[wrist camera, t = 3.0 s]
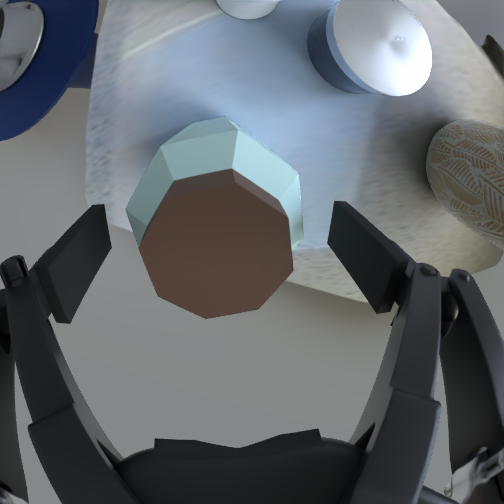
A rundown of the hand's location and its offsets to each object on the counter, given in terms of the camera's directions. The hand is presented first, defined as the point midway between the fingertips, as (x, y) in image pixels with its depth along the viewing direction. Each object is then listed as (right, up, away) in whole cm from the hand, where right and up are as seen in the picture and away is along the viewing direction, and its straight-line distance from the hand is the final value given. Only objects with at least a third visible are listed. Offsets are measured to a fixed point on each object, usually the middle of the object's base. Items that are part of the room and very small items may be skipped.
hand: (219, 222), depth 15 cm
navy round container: (+15, +25, +12) cm, 31 cm away
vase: (+36, +14, +22) cm, 44 cm away
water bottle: (-3, +11, +18) cm, 21 cm away
